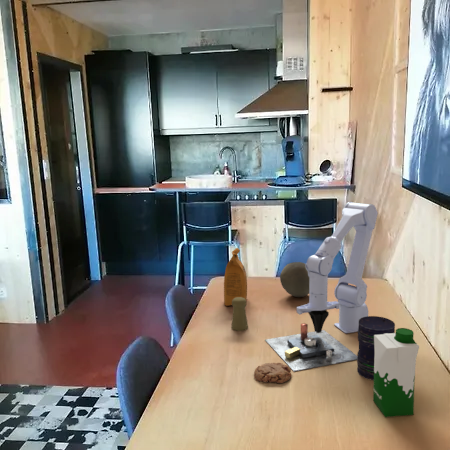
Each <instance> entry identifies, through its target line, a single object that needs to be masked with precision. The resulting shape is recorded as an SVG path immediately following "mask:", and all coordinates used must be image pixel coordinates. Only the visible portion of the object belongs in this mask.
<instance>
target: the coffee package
mask: <svg viewBox="0 0 450 450" xmlns="http://www.w3.org/2000/svg"><path fill="white" fill-rule="evenodd" d="M240 252H241V250H240V248H238V247H236V248H235V249H233V251H231V254H232V256H231V258H230V260H229V261H228V262H227V264H226V266H225V270H224V271H225V272H224V276H223V277H224V278H223V279H224V280H223V302H224V306H225V307H228V306H229V307H230V306H232V300H233V299H234V298H236V297H242V298H245V300H246V301H247V298H248V279H247V277H248V276H247V273H246V268H245V266H244V265H243V263H242V261H241V260H240V258H239V255H238V254H239V253H240Z"/></svg>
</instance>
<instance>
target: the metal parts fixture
mask: <svg viewBox="0 0 450 450" xmlns="http://www.w3.org/2000/svg"><path fill="white" fill-rule="evenodd" d="M308 326H309V324H308V323H305V322H303V323H300V334H301V337H300V338H294V339H288V340H287V343H288V344H289V345H290V346H291V347H292V349H289V350H287V351H285V356H286V357H287V358H289V359H290V358H292V357H294V356H297V355H300V356H301V357H302V358H305V357H310V356H316V355H321V354H326V351H327V350H331V351H332V352H334V348H333V347H332V346H330V345H329V344H328V343H327V342H326V341H324V340H323V339H322V338H321V337H320V336H318V335H312V336H308V332H309V331H308ZM307 337H313V338H315V339H316V346H317V347H312V348H306V347H305V346H304V345H305V338H307Z"/></svg>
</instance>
